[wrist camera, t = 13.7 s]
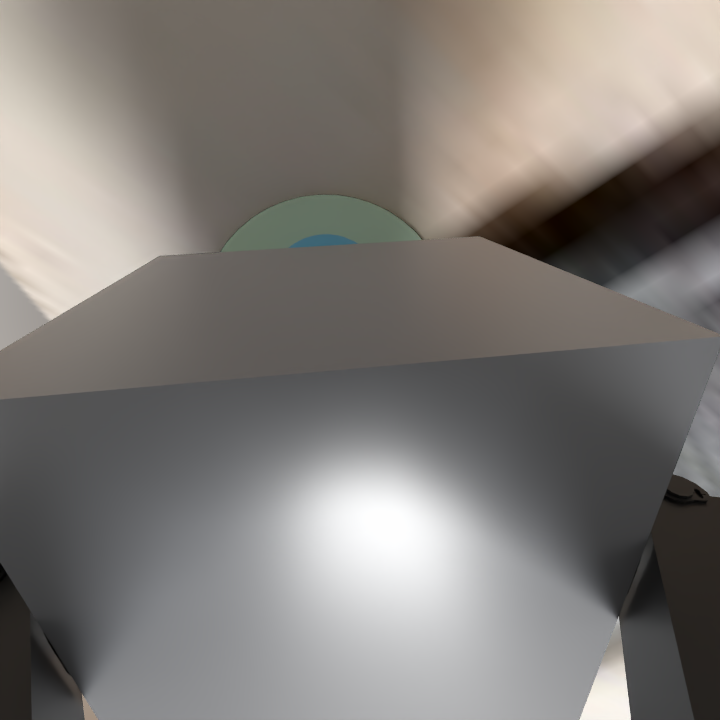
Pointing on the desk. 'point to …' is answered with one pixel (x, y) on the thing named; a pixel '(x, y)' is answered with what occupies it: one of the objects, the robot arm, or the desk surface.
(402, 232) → the disc
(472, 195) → the desk surface
